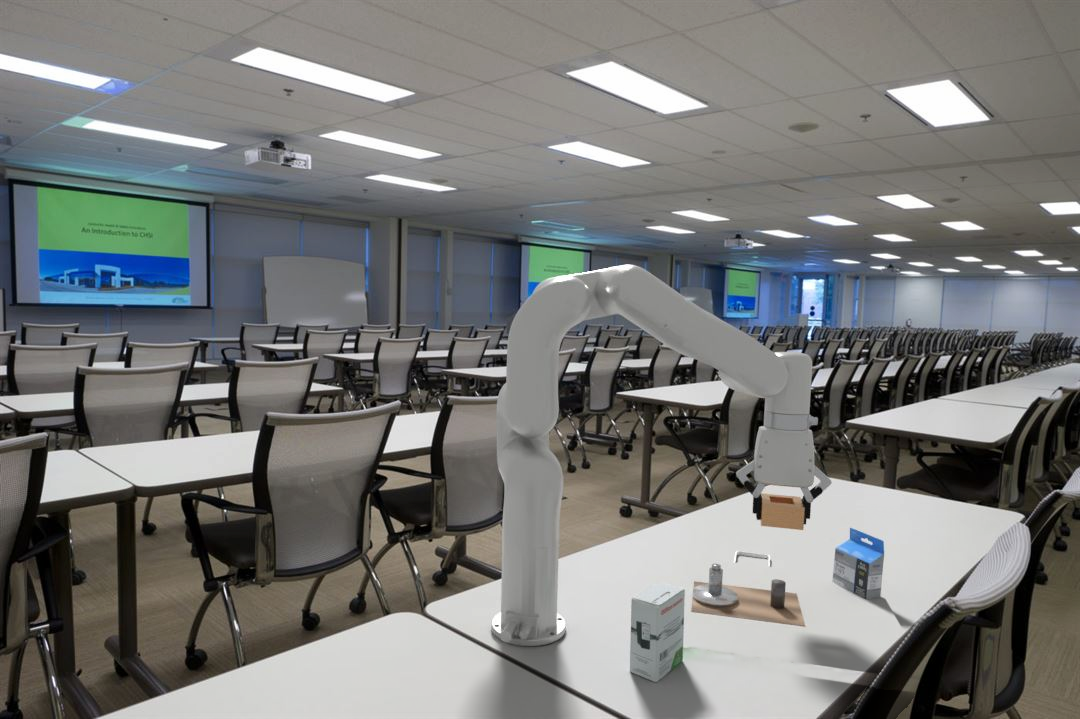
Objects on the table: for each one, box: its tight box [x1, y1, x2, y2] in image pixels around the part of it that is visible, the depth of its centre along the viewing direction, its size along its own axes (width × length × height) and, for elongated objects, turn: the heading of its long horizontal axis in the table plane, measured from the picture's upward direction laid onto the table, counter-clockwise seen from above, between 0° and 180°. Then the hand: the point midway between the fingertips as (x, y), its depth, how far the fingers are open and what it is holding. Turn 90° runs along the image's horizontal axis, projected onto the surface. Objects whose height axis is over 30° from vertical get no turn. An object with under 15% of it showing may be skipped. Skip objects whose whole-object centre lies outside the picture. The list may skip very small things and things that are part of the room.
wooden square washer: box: [759, 492, 805, 531], centre depth 126 cm, size 7×7×4 cm
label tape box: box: [832, 527, 885, 600], centre depth 136 cm, size 9×4×12 cm, turn 21°
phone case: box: [733, 550, 771, 567], centre depth 150 cm, size 7×1×15 cm
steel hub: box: [692, 563, 737, 608], centre depth 130 cm, size 8×8×6 cm
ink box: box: [629, 581, 686, 683], centre depth 108 cm, size 9×5×12 cm, turn 141°
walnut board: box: [690, 578, 806, 627], centre depth 129 cm, size 14×19×6 cm
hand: (780, 519), depth 126 cm, fingers closed on wooden square washer, 7 cm apart
